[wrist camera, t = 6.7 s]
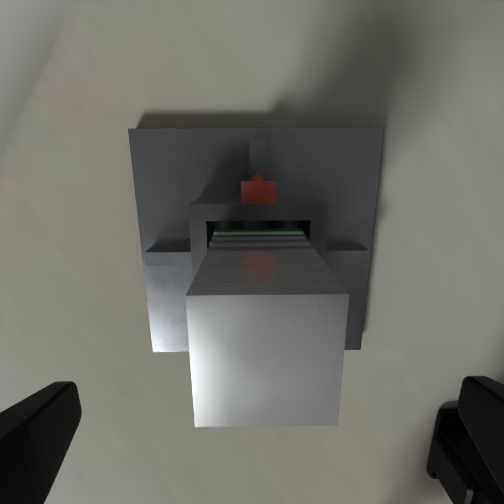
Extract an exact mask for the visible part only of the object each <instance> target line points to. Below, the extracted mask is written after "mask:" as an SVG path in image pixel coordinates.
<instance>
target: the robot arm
mask: <svg viewBox="0 0 504 504" xmlns="http://www.w3.org/2000/svg"><path fill="white" fill-rule="evenodd" d="M457 406H458V408H456V409H442V410H440V411H439V412H438V415H437V420H436V425H435V430H434V435H433V439H432V444H431V449H430V454H429V459H428V464H427V472H428V474H429V476H430V477H431V478H433V479H439V481H440V482H441V484H442V486H443V487H444V489H445V491H446V492H447V494H448V496H449V497H450V499H451V501H452V502H453V504H504V385H503V384H501V383H499V382H497V381H495V380H493V379H491V378H488V377H486V376H467V377H465V378H464V379H463V382H462V386H461V391H460V395H459V400H458V405H457ZM81 413H82V411H81V405H80V400H79V395H78V390H77V386H76V384H75V383H74V382H72V381H60V382H54V383H52V384H50V385H48V386H47V387H45V388H43V389H41V390H40V391H38V392H36V393H34V394H32V395H31V396H29V397H27V398H25V399H24V400H22V401H20V402H18V403H17V404H15V405H13V406H11V407H10V408H8V409H6V410H4V411H3V412H1V413H0V504H44V502H45V500H46V498H47V496H48V494H49V492H50V490H51V487H52V485H53V483H54V481H55V478H56V476H57V474H58V471H59V469H60V467H61V464H62V462H63V460H64V457H65V455H66V453H67V450H68V448H69V446H70V443H71V441H72V439H73V436H74V434H75V432H76V430H77V427H78V425H79V422H80V419H81Z"/></svg>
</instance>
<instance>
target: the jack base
mask: <svg viewBox="0 0 504 504" xmlns="http://www.w3.org/2000/svg"><path fill="white" fill-rule="evenodd" d="M128 133H129V142H130V151H131V160H132V169H133V178H134V187H135V196H136V204H137V213H138V222H139V231H140V240H141V249H142V258H143V267H144V276H145V285H146V294H147V303H148V312H149V321H150V330H151V338H152V347H153V352H190V351H189V338H188V324H187V311H186V297H185V296H186V293H187V291H188V289H189V287H190V285H191V283H192V281H193V279H194V277H195V275H196V273H197V271H198V269H199V267H200V265H201V263H202V261H203V259H204V257H205V255H206V248H207V247H209V242H210V241H212V236H213V235H214V231H215V229H302V230H303V231H304V234H305V235H306V236H307V237H306V239H307V240H310V241H311V245H312V246H315V247H316V252H317V253H318V254H319V256H320V257H321V258H322V260H323V261H324V262H325V264H326V265H327V266H328V267H329V269H330V270H331V271H332V273H333V274H334V275H335V276H336V278H337V279H338V280H339V282H340V283H341V284H342V285H343V287H344V288H345V289H346V291H347V292H348V293H349V302H348V314H347V325H346V336H345V347H344V350H360V349H361V340H362V330H363V321H364V312H365V302H366V293H367V283H368V274H369V265H370V255H371V246H372V237H373V227H374V218H375V208H376V199H377V190H378V180H379V171H380V161H381V152H382V143H383V133H384V127H314V128H148V129H128Z"/></svg>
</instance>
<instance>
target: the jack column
mask: <svg viewBox="0 0 504 504" xmlns="http://www.w3.org/2000/svg"><path fill="white" fill-rule="evenodd" d="M306 237H307V236H306V235H305V234H304V231H303V230H302V229H215V231H214V235H213V236H212V241H210V242H209V247H207V248H206V255H205V257H204V259H203V261H202V263H201V265H200V267H199V269H198V271H197V273H196V275H195V277H194V279H193V281H192V283H191V285H190V287H189V289H188V291H187V293H186V296H185V297H186V311H187V324H188V338H189V351H190V365H191V379H192V392H193V406H194V419H195V427H247V426H324V425H338V414H339V403H340V392H341V381H342V370H343V358H344V347H345V336H346V325H347V314H348V302H349V293H348V292H347V291H346V289H345V288H344V287H343V285H342V284H341V283H340V282H339V280H338V279H337V278H336V276H335V275H334V274H333V273H332V271H331V270H330V269H329V267H328V266H327V265H326V264H325V262H324V261H323V260H322V258H321V257H320V256H319V254H318V253H317V252H316V247H315V246H312V245H311V241H310V240H307V239H306Z"/></svg>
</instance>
